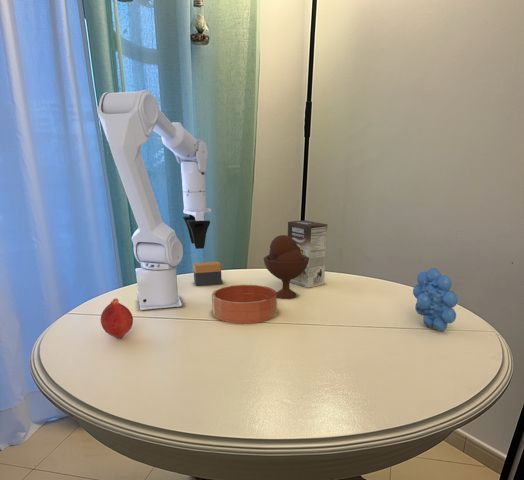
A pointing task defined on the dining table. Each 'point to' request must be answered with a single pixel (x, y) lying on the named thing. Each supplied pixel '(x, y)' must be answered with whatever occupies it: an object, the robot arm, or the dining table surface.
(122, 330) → the onion
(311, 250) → the coffee box
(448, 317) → the grapes
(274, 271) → the ice cream bowl
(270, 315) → the bowl
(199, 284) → the eraser
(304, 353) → the dining table surface
